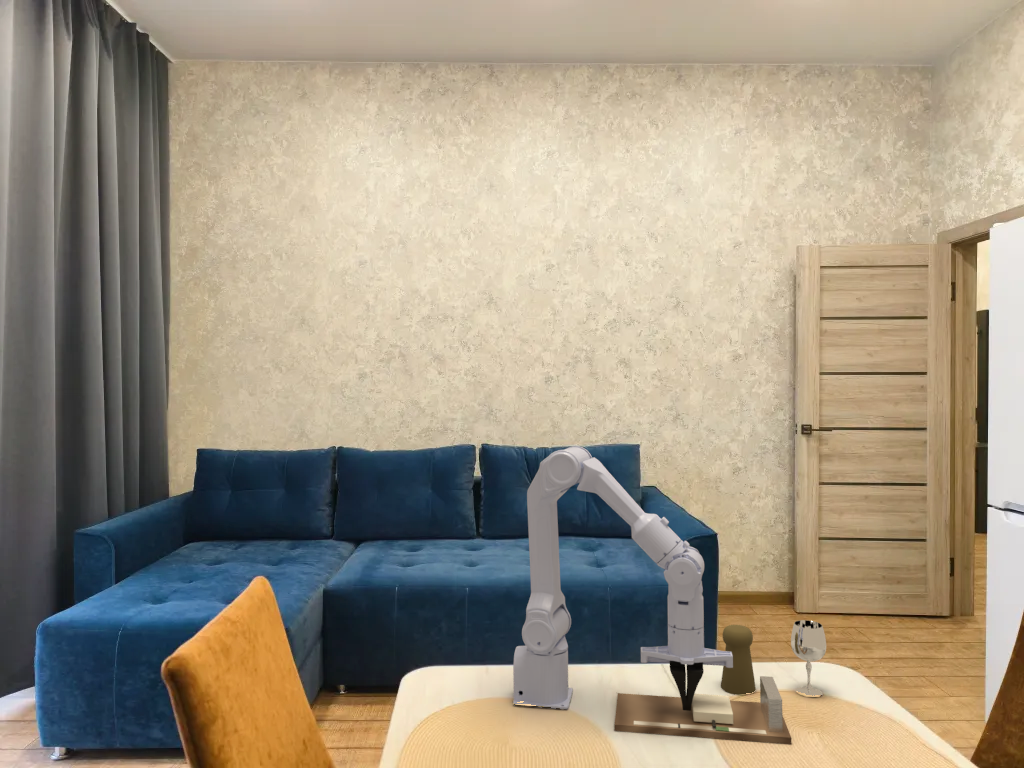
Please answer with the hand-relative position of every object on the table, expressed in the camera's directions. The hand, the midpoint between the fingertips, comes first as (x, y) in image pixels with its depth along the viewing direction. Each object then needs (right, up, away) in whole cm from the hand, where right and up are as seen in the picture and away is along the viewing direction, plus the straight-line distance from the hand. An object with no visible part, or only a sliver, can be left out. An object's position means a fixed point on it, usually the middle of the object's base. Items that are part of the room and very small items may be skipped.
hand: (686, 707), depth 120 cm
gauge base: (+2, -2, 0) cm, 3 cm away
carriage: (+4, -1, -2) cm, 4 cm away
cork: (+12, -2, +12) cm, 17 cm away
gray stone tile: (+13, -2, -2) cm, 13 cm away
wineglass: (+24, -2, +10) cm, 26 cm away
